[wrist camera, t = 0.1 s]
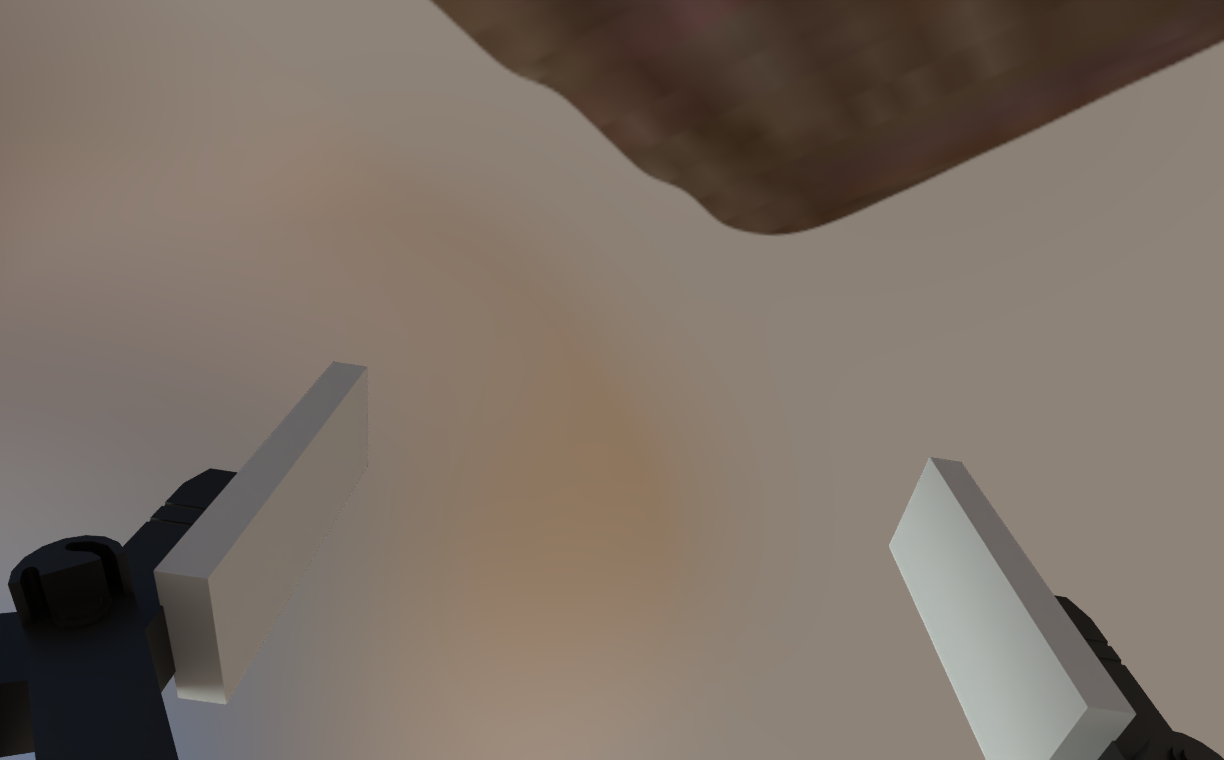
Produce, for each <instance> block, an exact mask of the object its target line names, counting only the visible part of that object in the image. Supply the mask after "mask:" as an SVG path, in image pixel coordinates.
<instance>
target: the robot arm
mask: <svg viewBox="0 0 1224 760" xmlns="http://www.w3.org/2000/svg"><path fill="white" fill-rule="evenodd" d="M367 374H368V373H367V367H365V366H359V365H353V364H346V363H339V362H332V364H331V365H330V366H329V367H328V368H327V369H326V371H325V372H324V373H323V374H322V375H321V377H320V378H319V379H318V380H317V381H316V382H315V383H314V385H313V386H312V387H311V388H310V389H309V391H308V392H307V393H306V394H305V395H304V396H303V397H302V399H301V400H300V401H299V402H298V403H297V404H296V406H295V407H294V408H293V409H292V410H291V412H290V413H289V414H288V415H287V416H286V417H285V418H284V420H283V421H282V422H281V423H280V424H279V425H278V427H277V428H276V429H275V430H274V431H273V432H272V433H271V435H270V436H269V437H268V438H267V439H266V440H265V442H264V443H263V444H262V445H261V447H259V449H258V450H257V451H256V452H255V453H254V455H253V456H252V457H251V458H250V459H249V460H248V461H247V463H246V464H245V465H244V466H243V467H242V468H241V470H240V471H239V472H238V473H237V472H231V471H224V470H217V469H211V468H210V469H208V470H207V471H205V472H203V473H201V474H199V475H197V476H196V477H194V478H192V479H190V480H188V481H186V482H185V483H183V484H182V485H181V486H180V487H179V488H178V489H177V490H176V491H175V493H174V494H173V495H172V496H171V497H170V498H169V499H168V500H167V501H166V502H165V506H161V507H160V508H159V510H157V511H156V513H154V515H153V516H152V517H151V519H150V521H149V522H146V523H145V524H144V525H143V526H142V527H141V528H140V529H139V530H138V531H137V532H136V533H135V535H134V536H133V537H132V538H131V539H130V540H129V541H128V542H127V543H126V544H125V545H124V546H123V547H122V546H121V544H120V543H119V542H117V541H115V540H112V539H110V538H107V537H105V536H90V535H84V536H78V537H71V538H65V539H62V540H59V541H56V542H53V543H51V544H48V545H45V546H42V547H41V548H39V549H38V550H36V551H34V552H33V553H31V554H29V555H28V556H26V557H24V558H23V559H22V560H21V562H20V563H19V564H18V565H17V566H16V567H15V568H14V569H13V570H12V572H11V575H10V579H9V582H8V586H9V589H10V592H11V595H12V598H13V601H14V604H15V607H16V610H17V612H11V613H1V614H0V757H5V756H12V755H18V754H25V753H31V752H35V757H36V760H178V756H177V752H176V748H175V745H174V741H173V737H172V733H171V729H170V725H169V721H168V718H167V714H166V710H165V706H164V702H163V699H162V695H161V692H162V691H163V689H164V688H165V686H166V685H167V683H168V682H169V680H170V679H171V678H172V676H173V675H174V678H175V682H176V688H177V693H178V698H184V699H191V700H198V701H205V702H213V703H220V704H227V703H228V701H229V699H230V698H231V696H232V694H233V692H234V691H235V689H236V688H237V686H238V684H239V682H240V681H241V679H242V677H243V676H244V674H245V672H246V671H247V669H248V667H249V666H250V664H251V662H252V660H253V659H254V657H255V655H256V654H257V652H258V650H259V648H260V647H261V645H262V644H263V642H264V640H265V638H266V637H267V635H268V634H269V632H270V630H271V628H272V627H273V625H274V623H275V622H276V620H277V618H278V616H279V615H280V613H281V612H282V609H283V608H284V606H285V605H286V603H287V601H288V600H289V598H290V596H291V595H292V593H293V591H294V589H295V588H296V586H297V585H298V583H299V581H300V579H301V578H302V576H303V574H304V573H305V571H306V569H307V568H308V566H309V564H310V563H311V561H312V559H313V557H314V556H315V554H316V552H317V551H318V549H319V547H320V545H321V544H322V542H323V540H324V539H325V537H326V536H327V534H328V532H329V530H330V529H331V527H332V525H333V524H334V522H335V520H336V518H337V517H338V515H339V513H340V512H341V510H342V508H343V507H344V505H345V503H346V502H347V500H348V498H349V497H350V495H351V493H352V491H353V490H354V488H355V487H356V485H357V483H358V481H359V480H360V478H361V476H362V475H363V473H364V471H365V470H366V468H367V466H368V399H367V398H368V396H367V395H368V394H367V393H368V390H367V389H368V385H367V377H368V375H367ZM889 547H890V550H891V552H892V554H893V556H894V559H895V561H896V563H897V565H898V567H899V569H900V572H901V574H902V576H903V578H904V581H905V583H906V585H907V587H908V589H909V592H910V594H911V596H912V598H913V600H914V603H915V604H916V607H917V609H918V611H919V614H920V616H921V618H922V620H923V622H924V624H925V627H926V629H927V631H928V633H929V635H930V638H931V640H932V642H933V644H934V647H935V649H936V651H937V653H938V655H939V658H940V660H941V662H942V664H943V666H944V668H945V671H946V673H947V675H948V677H949V680H950V682H951V684H952V686H953V688H954V690H955V693H956V695H957V697H958V699H959V701H960V704H961V706H962V708H963V710H964V713H965V715H966V717H967V719H968V721H969V723H970V726H971V728H972V730H973V732H974V734H975V737H976V739H977V741H978V744H979V746H980V748H981V750H982V752H983V754H984V756H985V759H986V760H1224V759H1223V758H1222V757H1221V756H1220V755H1219V754H1217V753H1216V752H1214V751H1213V750H1212V749H1210V748H1209V747H1207V746H1206V745H1204V744H1203V743H1201V742H1200V741H1198V740H1196V739H1194V738H1192V737H1189V736H1187V735H1185V734H1183V733H1179V732H1174V731H1172V729H1171V728H1170V726H1169V725H1168V724H1167V722H1166V721H1165V720H1164V718H1163V717H1162V715H1161V714H1160V713H1159V711H1158V710H1157V709H1156V708H1155V706H1154V704H1153V703H1152V702H1151V700H1150V699H1149V698H1148V696H1147V695H1146V693H1145V692H1144V691H1143V689H1142V688H1141V687H1140V685H1139V684H1138V682H1137V681H1136V680H1135V678H1134V677H1133V676H1132V674H1131V673H1130V671H1129V670H1128V669H1127V667H1126V666H1125V665H1122V664H1121V659H1120V658H1119V656H1118V655H1117V654H1116V652H1115V651H1114V650H1113V648H1112V647H1111V646H1108V645H1107V643H1108V641H1107V640H1106V639H1105V637H1104V636H1103V634H1102V633H1101V632H1100V630H1099V629H1098V628H1097V626H1096V625H1095V623H1094V622H1093V621H1092V620H1091V618H1090V617H1088V616H1087V615H1086V614H1085V613H1084V612H1083V611H1082V610H1080V609H1079V608H1078V607H1077V606H1076V605H1075V604H1074V603H1072V602H1071V601H1070V600H1069V599H1068V598H1066V597H1061V596H1055V595H1053V593H1052V592H1051V590H1050V589H1049V588H1048V586H1047V585H1046V583H1045V582H1044V580H1043V579H1042V577H1041V576H1040V575H1039V573H1038V572H1037V570H1036V569H1035V567H1034V566H1033V565H1032V563H1031V562H1030V560H1029V559H1028V557H1027V556H1026V554H1025V553H1024V551H1023V550H1022V549H1021V547H1020V546H1019V544H1018V543H1017V542H1016V540H1015V539H1014V537H1013V536H1012V534H1011V533H1010V531H1009V530H1008V528H1007V527H1006V526H1005V525H1004V523H1003V521H1002V520H1001V518H1000V517H999V516H998V515H997V513H996V511H995V510H994V508H993V507H992V506H991V504H990V503H989V501H988V500H987V498H986V497H985V495H984V494H983V492H982V491H981V490H980V488H979V487H978V485H977V484H976V482H975V481H974V480H973V478H972V477H971V475H970V474H969V472H968V471H967V470H966V468H965V467H964V465H963V464H962V462H958V461H951V460H945V459H939V458H933V457H930V458H929V460H928V462H927V464H926V466H925V468H924V471H923V473H922V475H921V477H920V479H919V482H918V484H917V486H916V488H915V490H914V493H913V495H912V497H911V499H910V501H909V503H908V505H907V508H906V510H905V512H904V514H903V516H902V519H901V521H900V523H899V525H898V527H897V529H896V532H895V534H894V536H893V538H892V541H891V543H890V545H889Z"/></svg>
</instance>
